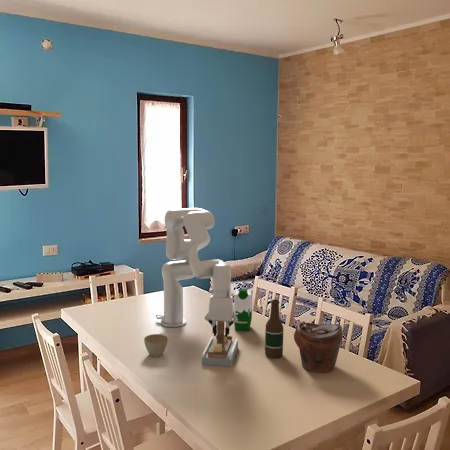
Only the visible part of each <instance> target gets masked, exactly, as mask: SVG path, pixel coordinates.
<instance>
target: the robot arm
mask: <svg viewBox="0 0 450 450" xmlns="http://www.w3.org/2000/svg"><path fill="white" fill-rule="evenodd" d="M215 223H216V221H215V217H214V215H213V213H212V212H211V211H209V210H205V209H203V208H199V207H188V208H186V207H185V208H183V207H182V208H172V209H169V210H167V211H166V213H165V215H164V225H165V229H166V241H165V242H166V243H165V255H166V258H167V259H168V260H173V261H168V262H165V263H164V264H163V265H162V267H161V276H162V280H163V313H162V314H161V313H156V314H155V318H156V320H160V325H161V326H163V327H167V328H180V327H184V326H185V325H186V324H187V320H186V319H185V318H184V288H183V286H182V285H181V284H180V282H179V281H181V280H189V279H190V280H191V279H193V278H194V277H195V278H196V279H198V280H203V279H210V278H212V288H211V289H209V290H208V293H209V294H211V295H210V297H209V303H208V312H207V313H206V315H205V316H204V320H205V321H206V322H208V323H209V324H210V325H211V327H212V334H213V337H216V335H217V321H224V322H225V327H224V333H225V337H227V336H229V335H230V327H231V326H233V325H234V323H235V322H237V321H238V318H237V317H236V315H235V314H234V299H233V296H232V295H231V291H232V290H231V288H232V287H231V286H232V282H231V281H232V266H231V265H230V264H229V263H226V262H224V261H223V260H222V259H218V258H217V259H209V260H208V259H207V260H200V259H199V251H200V250H202V249H203V248H205V247H207V246H208V244H210V241H211V237H210V235H209V232H208V230H211V229H213V228H214V227H215ZM184 227H185V231H186V233H187V235H188V237H189V238H188V239H187V238H185V231H184Z"/></svg>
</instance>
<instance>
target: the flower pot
mask: <svg viewBox="0 0 450 450" xmlns="http://www.w3.org/2000/svg"><path fill="white" fill-rule="evenodd" d="M168 340H169V338H168V336H167V335H165V334H160V333H154V334H152V333H151V334H148V335H146V336H145V337H144V338H143V342H144V347H145V348H146V349H145V350H146V352H147V353H148V354H149V356H150V357H153V358H158V357H161V356H162V355H163V354H164V352H165V350H166V348H167V345H168Z"/></svg>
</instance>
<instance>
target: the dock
mask: <svg viewBox="0 0 450 450" xmlns="http://www.w3.org/2000/svg"><path fill="white" fill-rule="evenodd" d="M215 339H216V338H214V336H211V337H210V339H208V342H207V344H206V347H205V348H204V350H203V352H202V353H201V365H205V366H218V367H219V366H220V367H229V368H230V367H232V366H233V363H234V360H235V357H236V354H237V352H238V349H239V339H238V338H235V340H232V342H231V345H230V347H229V350H228V352H227V355H226V357H225V358H214V357H208V351H210V349H211V347H212V345H213V343H214V341H215Z"/></svg>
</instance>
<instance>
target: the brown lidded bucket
mask: <svg viewBox="0 0 450 450" xmlns="http://www.w3.org/2000/svg"><path fill="white" fill-rule="evenodd" d="M343 336H344V334H343V326H342V325H341V324H340V323H327V324H324V323H323V324H322V323H321V324H318V323H311V322H300V323H298V324H297V325H296V328H295V331H294V333H293V340H294V342H295V344H296V346H297V347H298V350H299V356H300V362H301V366H302V367H303V368H304V369H305V370H307V371H310V372H314V373H323V374H324V373H330V372H332V371H334V370H335V368H336V363H337V359H338V356H339V352H340V349H341V344H342V342H343Z"/></svg>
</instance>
